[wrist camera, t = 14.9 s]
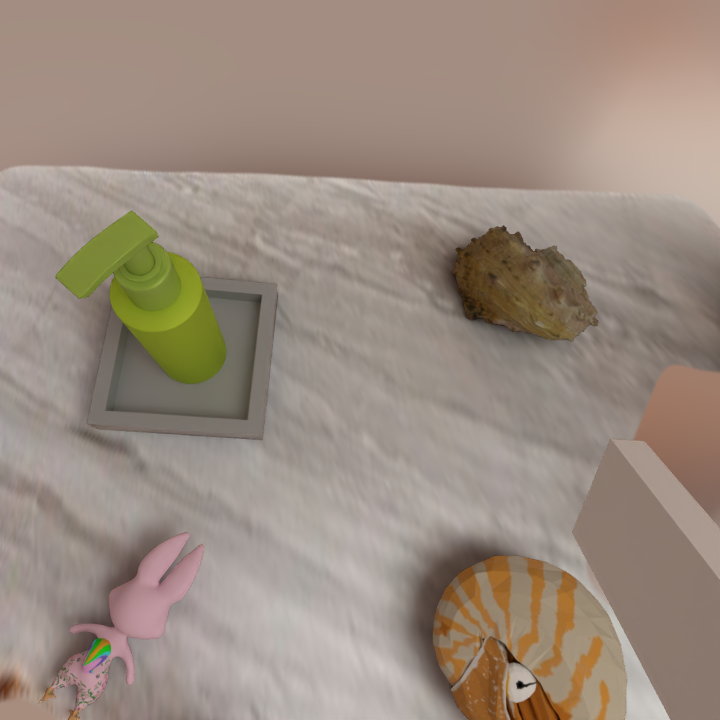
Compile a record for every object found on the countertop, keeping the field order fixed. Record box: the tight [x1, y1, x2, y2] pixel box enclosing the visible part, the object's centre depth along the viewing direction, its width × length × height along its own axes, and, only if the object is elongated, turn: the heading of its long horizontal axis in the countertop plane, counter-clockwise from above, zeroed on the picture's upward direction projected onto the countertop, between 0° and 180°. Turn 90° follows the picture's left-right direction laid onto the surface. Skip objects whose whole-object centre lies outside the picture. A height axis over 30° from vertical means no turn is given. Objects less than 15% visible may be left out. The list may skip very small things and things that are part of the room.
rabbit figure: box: [38, 532, 204, 720], centre depth 38 cm, size 6×6×15 cm
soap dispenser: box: [56, 211, 226, 384], centre depth 37 cm, size 6×7×20 cm
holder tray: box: [87, 277, 278, 440], centre depth 46 cm, size 14×14×3 cm
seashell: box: [451, 225, 598, 342], centre depth 49 cm, size 11×14×10 cm
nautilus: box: [433, 556, 627, 720], centre depth 39 cm, size 8×22×15 cm
